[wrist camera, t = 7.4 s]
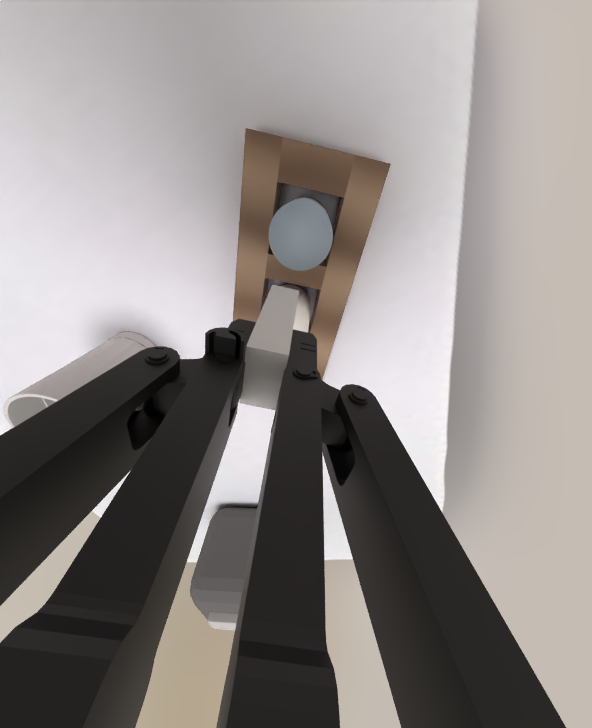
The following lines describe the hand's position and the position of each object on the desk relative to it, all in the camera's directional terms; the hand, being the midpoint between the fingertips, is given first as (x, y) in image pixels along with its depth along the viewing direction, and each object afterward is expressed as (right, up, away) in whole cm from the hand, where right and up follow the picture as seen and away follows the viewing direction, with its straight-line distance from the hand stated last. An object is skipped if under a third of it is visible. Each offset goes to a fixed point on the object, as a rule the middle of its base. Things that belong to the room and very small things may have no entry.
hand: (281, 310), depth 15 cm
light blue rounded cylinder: (+1, +8, +6) cm, 9 cm away
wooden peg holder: (0, +4, +12) cm, 12 cm away
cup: (-18, -2, +17) cm, 25 cm away
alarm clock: (-6, -33, +37) cm, 50 cm away
